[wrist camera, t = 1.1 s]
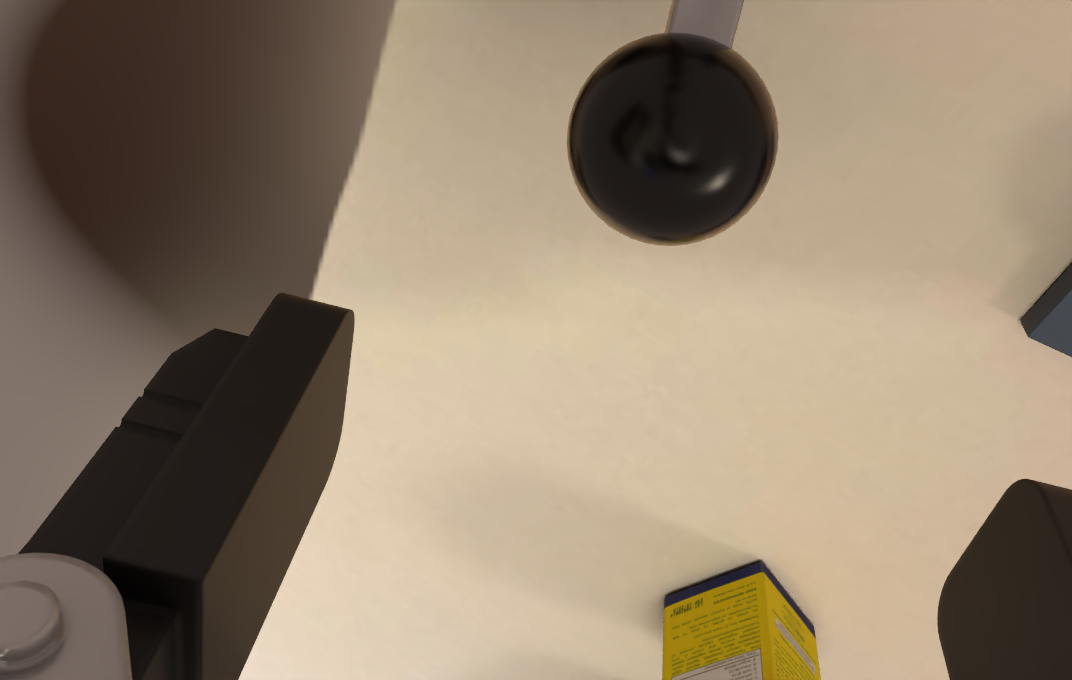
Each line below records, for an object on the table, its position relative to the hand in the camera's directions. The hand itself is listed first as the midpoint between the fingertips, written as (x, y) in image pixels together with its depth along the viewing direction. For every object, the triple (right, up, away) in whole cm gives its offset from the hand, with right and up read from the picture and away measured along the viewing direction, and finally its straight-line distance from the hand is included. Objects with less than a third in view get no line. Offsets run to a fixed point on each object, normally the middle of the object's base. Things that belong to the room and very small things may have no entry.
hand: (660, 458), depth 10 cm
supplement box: (+10, -13, +42) cm, 45 cm away
